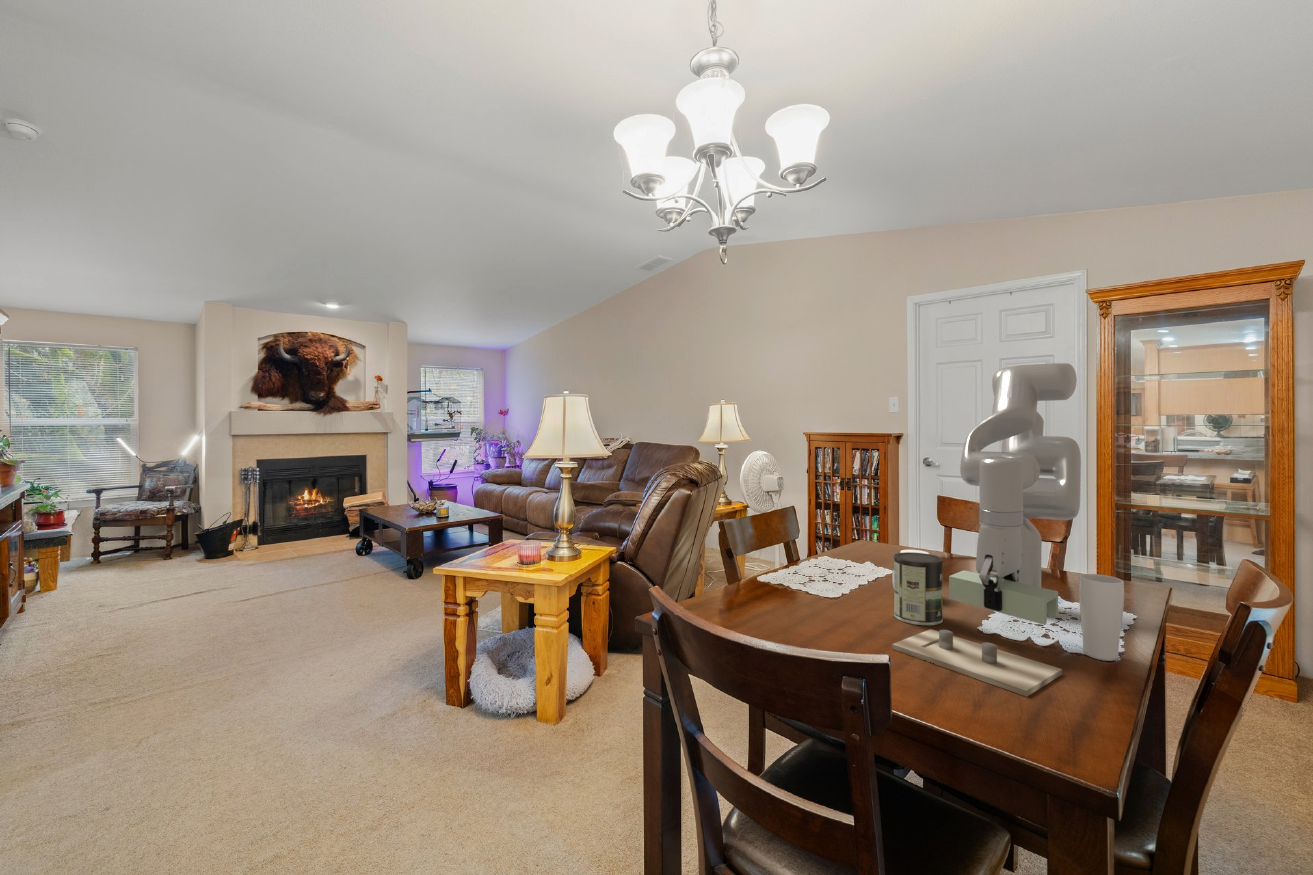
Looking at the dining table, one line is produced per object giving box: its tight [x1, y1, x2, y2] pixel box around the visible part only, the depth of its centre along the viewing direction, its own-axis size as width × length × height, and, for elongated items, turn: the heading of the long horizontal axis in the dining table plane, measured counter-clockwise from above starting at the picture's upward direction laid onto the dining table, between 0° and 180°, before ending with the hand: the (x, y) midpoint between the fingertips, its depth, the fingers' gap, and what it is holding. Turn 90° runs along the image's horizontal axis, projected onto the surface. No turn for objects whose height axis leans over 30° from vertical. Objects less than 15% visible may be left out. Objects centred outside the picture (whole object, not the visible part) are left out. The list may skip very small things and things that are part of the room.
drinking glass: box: [1078, 573, 1125, 662], centre depth 108 cm, size 7×7×15 cm
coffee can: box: [893, 552, 944, 627], centre depth 129 cm, size 10×10×14 cm
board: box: [891, 628, 1063, 697], centre depth 106 cm, size 14×24×4 cm, turn 35°
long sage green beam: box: [948, 569, 1059, 626], centre depth 115 cm, size 6×18×5 cm, turn 35°
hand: (1000, 604), depth 115 cm, fingers closed on long sage green beam, 6 cm apart
